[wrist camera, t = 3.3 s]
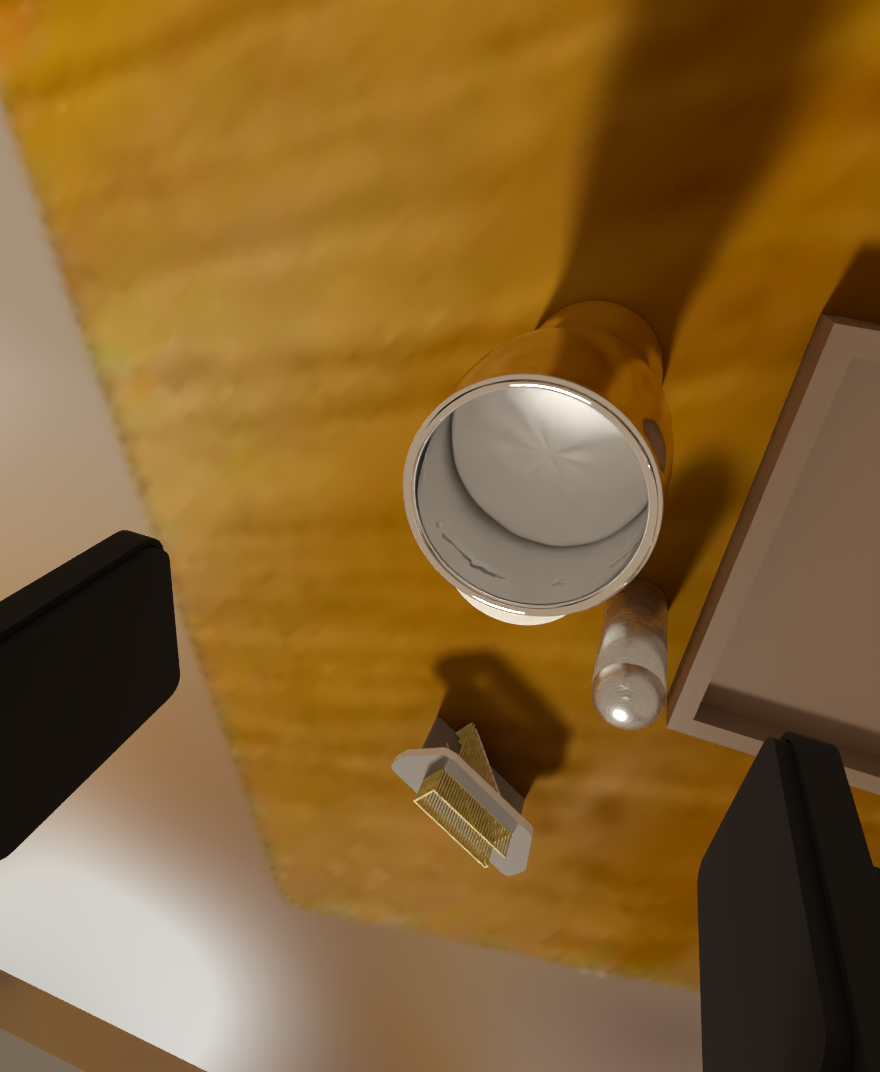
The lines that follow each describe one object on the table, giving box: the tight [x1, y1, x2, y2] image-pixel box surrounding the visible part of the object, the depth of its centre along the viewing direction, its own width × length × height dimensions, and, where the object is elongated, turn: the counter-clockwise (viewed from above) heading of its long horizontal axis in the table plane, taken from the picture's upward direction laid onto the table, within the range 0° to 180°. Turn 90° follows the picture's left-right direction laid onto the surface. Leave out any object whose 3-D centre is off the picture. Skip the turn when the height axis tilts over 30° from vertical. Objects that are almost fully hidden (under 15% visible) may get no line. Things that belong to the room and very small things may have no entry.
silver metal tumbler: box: [403, 300, 674, 617], centre depth 23 cm, size 7×7×15 cm
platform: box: [392, 716, 533, 876], centre depth 39 cm, size 12×18×7 cm, turn 47°
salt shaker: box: [591, 579, 668, 730], centre depth 30 cm, size 3×3×8 cm
